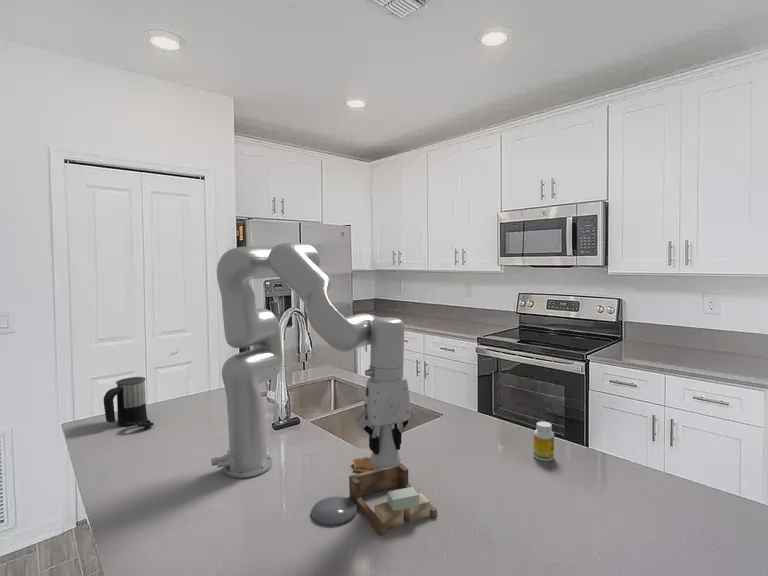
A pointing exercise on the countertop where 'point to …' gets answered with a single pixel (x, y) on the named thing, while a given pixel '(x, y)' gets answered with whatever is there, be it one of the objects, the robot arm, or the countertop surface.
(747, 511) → the countertop surface
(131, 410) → the milk frother
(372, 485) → the walnut rack
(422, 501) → the birch offcut block
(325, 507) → the disc
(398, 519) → the oak offcut block
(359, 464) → the shard
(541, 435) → the supplement bottle
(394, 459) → the flask
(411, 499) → the sage painted offcut block
